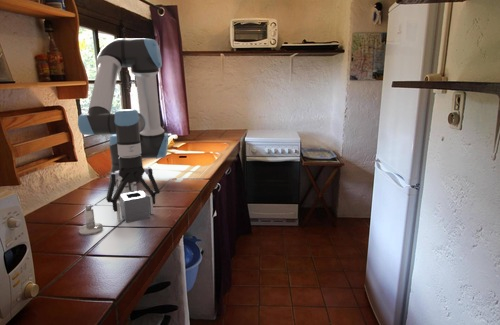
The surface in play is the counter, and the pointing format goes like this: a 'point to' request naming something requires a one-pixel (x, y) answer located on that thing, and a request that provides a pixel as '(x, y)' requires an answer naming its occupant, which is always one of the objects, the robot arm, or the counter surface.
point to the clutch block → (134, 206)
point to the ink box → (129, 186)
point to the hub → (90, 223)
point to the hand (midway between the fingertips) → (135, 216)
